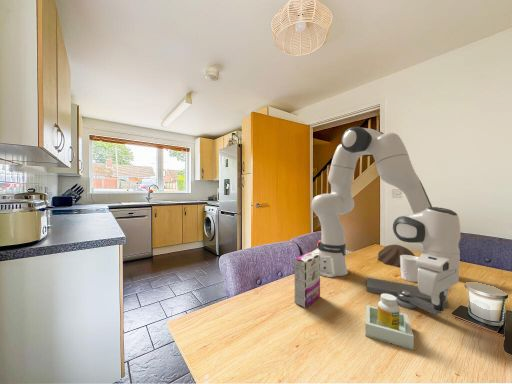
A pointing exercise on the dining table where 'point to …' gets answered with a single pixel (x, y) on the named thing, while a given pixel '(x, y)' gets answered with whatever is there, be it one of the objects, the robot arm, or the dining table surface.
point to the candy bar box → (307, 278)
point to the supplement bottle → (388, 312)
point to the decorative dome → (393, 254)
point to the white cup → (409, 268)
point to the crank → (422, 302)
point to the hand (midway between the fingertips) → (439, 301)
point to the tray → (389, 329)
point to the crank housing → (394, 288)
